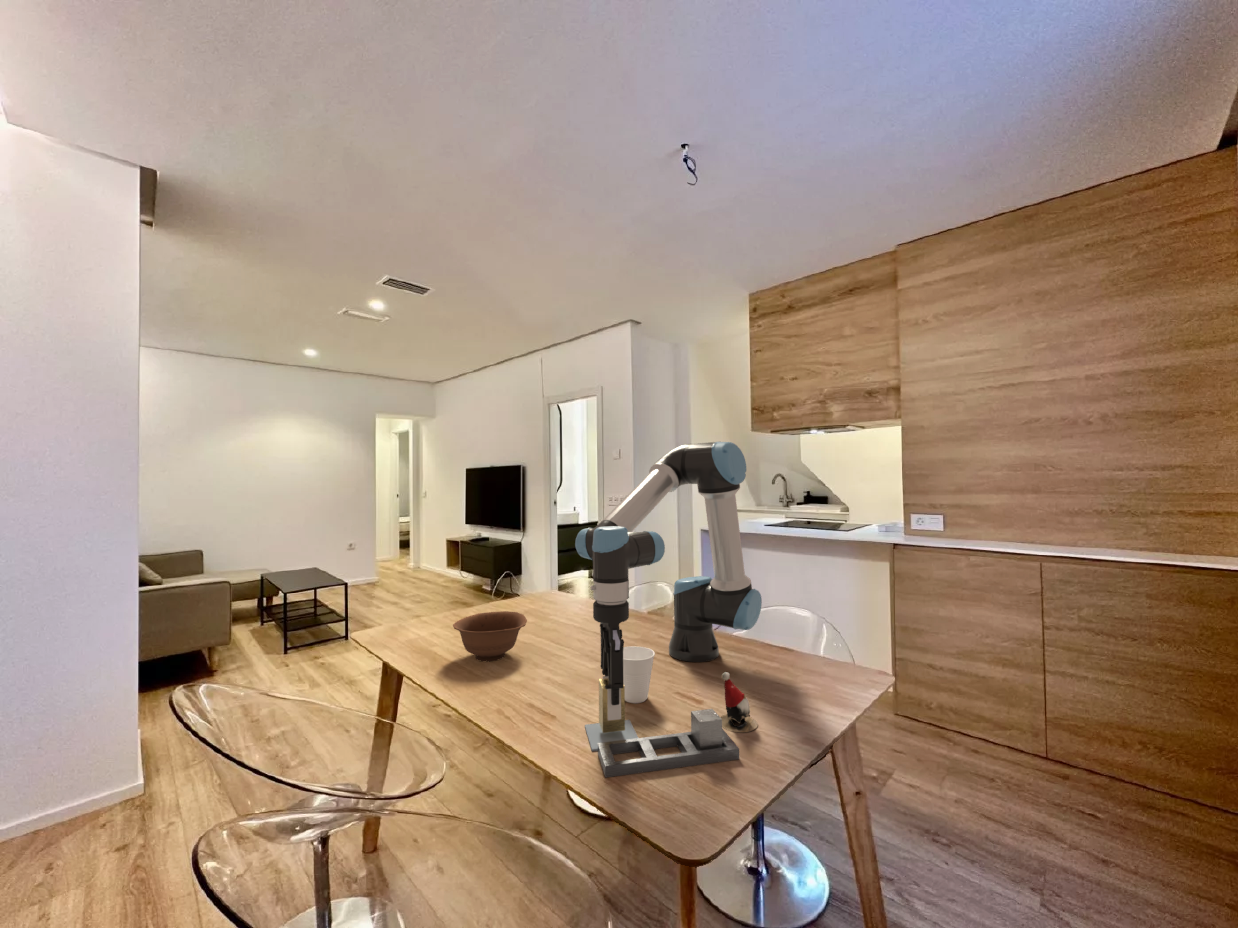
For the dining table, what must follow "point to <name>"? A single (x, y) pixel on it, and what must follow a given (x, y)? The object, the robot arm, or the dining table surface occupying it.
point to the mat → (608, 734)
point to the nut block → (603, 716)
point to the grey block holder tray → (654, 762)
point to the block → (706, 729)
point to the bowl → (490, 633)
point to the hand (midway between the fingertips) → (611, 712)
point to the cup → (637, 672)
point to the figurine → (736, 708)
